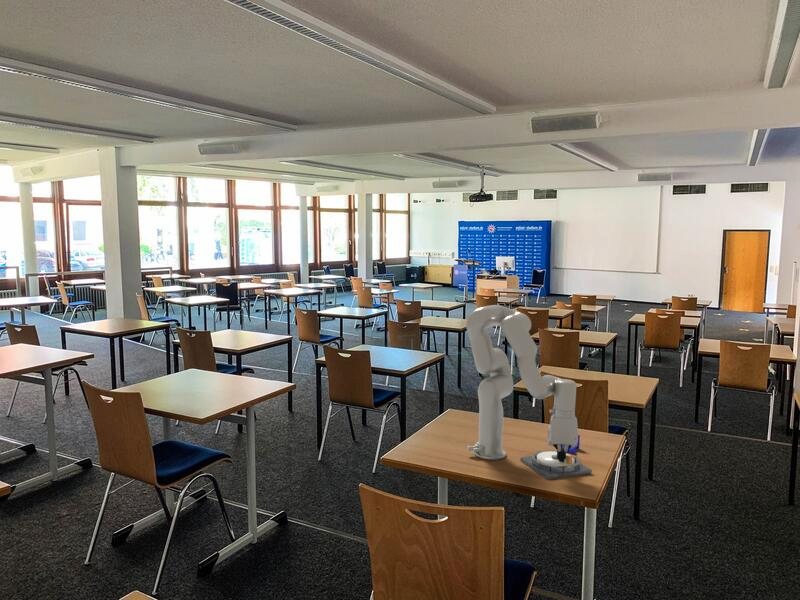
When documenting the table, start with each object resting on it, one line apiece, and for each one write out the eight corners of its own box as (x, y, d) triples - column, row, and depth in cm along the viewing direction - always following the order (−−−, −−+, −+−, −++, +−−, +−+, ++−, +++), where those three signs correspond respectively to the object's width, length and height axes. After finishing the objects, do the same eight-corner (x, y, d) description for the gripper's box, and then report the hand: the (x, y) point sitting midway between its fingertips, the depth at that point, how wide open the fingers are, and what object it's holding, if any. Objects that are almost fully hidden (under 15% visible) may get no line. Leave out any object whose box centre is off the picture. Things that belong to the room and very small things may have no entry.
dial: (528, 460, 225) (529, 448, 225) (553, 453, 233) (554, 441, 232) (557, 472, 213) (558, 459, 213) (582, 464, 221) (583, 452, 221)
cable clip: (569, 457, 235) (569, 442, 234) (558, 454, 238) (559, 440, 237) (582, 450, 243) (583, 436, 243) (572, 447, 246) (573, 433, 246)
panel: (547, 479, 211) (547, 470, 211) (520, 460, 229) (520, 452, 229) (591, 473, 218) (592, 464, 217) (562, 455, 235) (562, 447, 235)
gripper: (545, 415, 212) (542, 463, 214) (587, 417, 211) (584, 465, 213) (541, 409, 219) (538, 456, 221) (581, 410, 219) (578, 458, 221)
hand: (561, 460), depth 217 cm, fingers closed
